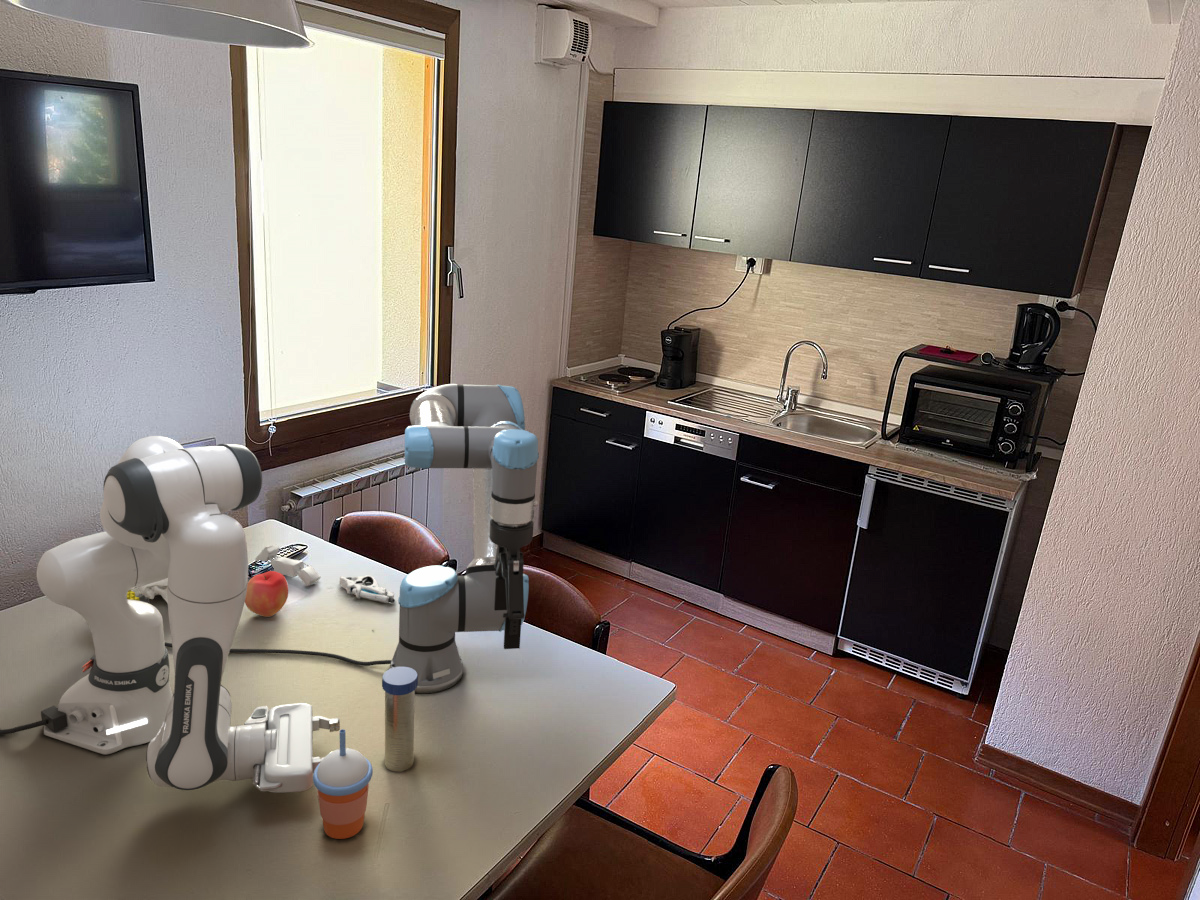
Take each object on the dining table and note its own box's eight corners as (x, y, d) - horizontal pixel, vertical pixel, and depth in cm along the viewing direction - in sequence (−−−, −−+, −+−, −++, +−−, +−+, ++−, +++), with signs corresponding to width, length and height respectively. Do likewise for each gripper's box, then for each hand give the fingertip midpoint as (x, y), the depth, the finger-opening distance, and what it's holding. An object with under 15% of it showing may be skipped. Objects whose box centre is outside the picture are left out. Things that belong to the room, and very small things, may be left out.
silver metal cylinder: (418, 766, 154) (419, 681, 149) (391, 775, 151) (392, 688, 146) (406, 750, 158) (407, 667, 153) (380, 759, 155) (380, 674, 150)
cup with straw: (356, 851, 133) (355, 754, 128) (303, 839, 135) (300, 742, 130) (382, 812, 142) (382, 719, 137) (331, 801, 143) (330, 709, 138)
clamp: (253, 565, 223) (254, 542, 221) (265, 560, 226) (266, 537, 224) (309, 593, 215) (310, 569, 213) (320, 588, 218) (321, 564, 216)
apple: (273, 600, 207) (272, 562, 204) (297, 613, 202) (296, 575, 199) (237, 614, 200) (234, 575, 197) (261, 628, 194) (259, 588, 191)
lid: (423, 689, 149) (423, 679, 149) (390, 699, 146) (390, 689, 145) (409, 672, 154) (409, 662, 153) (376, 681, 150) (376, 671, 150)
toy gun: (412, 588, 214) (383, 600, 205) (411, 597, 215) (383, 610, 206) (358, 568, 223) (329, 579, 214) (358, 577, 223) (328, 588, 215)
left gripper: (250, 774, 135) (342, 762, 139) (258, 700, 153) (338, 692, 157) (252, 807, 136) (342, 795, 141) (259, 730, 155) (339, 721, 159)
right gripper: (546, 549, 137) (538, 664, 144) (522, 492, 160) (517, 594, 167) (499, 550, 135) (493, 667, 142) (482, 493, 158) (478, 595, 165)
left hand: (340, 740), depth 149 cm, fingers open, 8 cm apart
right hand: (506, 627), depth 154 cm, fingers open, 13 cm apart
